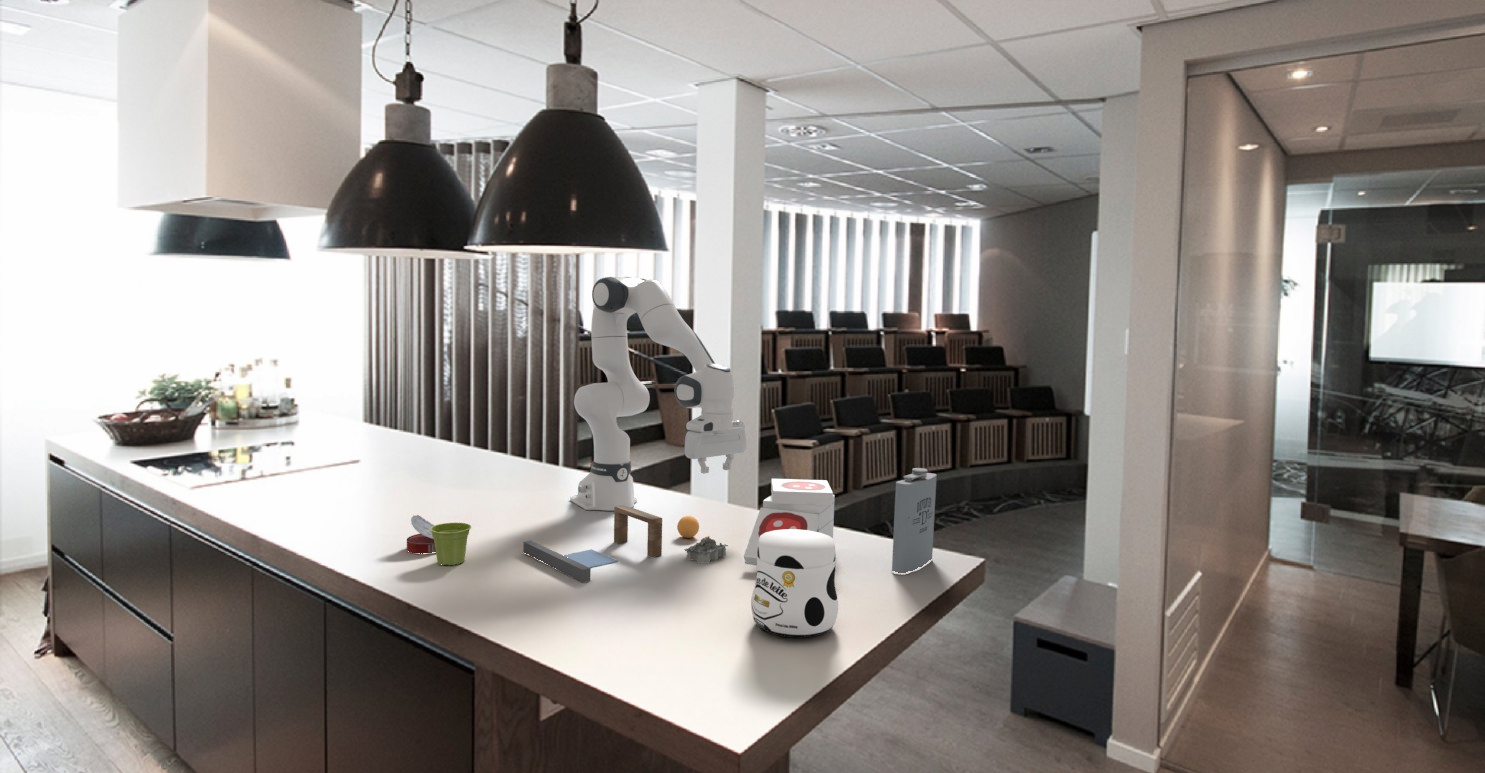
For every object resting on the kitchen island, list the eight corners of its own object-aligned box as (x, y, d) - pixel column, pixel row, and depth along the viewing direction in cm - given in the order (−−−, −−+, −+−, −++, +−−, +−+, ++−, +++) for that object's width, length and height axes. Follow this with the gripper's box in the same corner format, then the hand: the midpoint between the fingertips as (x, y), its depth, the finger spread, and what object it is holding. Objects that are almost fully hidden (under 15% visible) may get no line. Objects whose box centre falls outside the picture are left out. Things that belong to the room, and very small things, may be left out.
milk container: (737, 635, 158) (740, 545, 156) (767, 606, 174) (769, 523, 172) (824, 651, 152) (828, 557, 150) (846, 619, 168) (850, 534, 166)
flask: (906, 577, 196) (912, 474, 193) (889, 572, 199) (894, 471, 196) (937, 560, 210) (942, 464, 207) (920, 556, 212) (925, 462, 210)
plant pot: (422, 561, 197) (422, 526, 196) (459, 553, 203) (459, 519, 203) (441, 571, 190) (441, 534, 189) (478, 562, 197) (478, 527, 196)
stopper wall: (523, 553, 205) (523, 541, 205) (530, 551, 207) (530, 540, 207) (582, 582, 185) (582, 569, 185) (590, 580, 186) (590, 568, 186)
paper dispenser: (735, 571, 197) (738, 497, 195) (775, 539, 225) (777, 474, 223) (812, 582, 190) (815, 506, 188) (843, 548, 218) (846, 482, 216)
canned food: (427, 560, 212) (440, 523, 216) (450, 564, 206) (463, 526, 210) (389, 549, 204) (404, 511, 207) (413, 553, 198) (427, 513, 202)
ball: (672, 536, 224) (673, 515, 223) (689, 533, 228) (690, 512, 227) (686, 541, 220) (686, 520, 219) (703, 538, 224) (703, 516, 223)
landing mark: (550, 558, 202) (550, 557, 202) (591, 549, 210) (591, 549, 210) (575, 571, 193) (575, 570, 193) (618, 561, 201) (618, 560, 201)
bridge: (652, 557, 205) (652, 519, 204) (613, 542, 217) (614, 506, 216) (661, 555, 207) (662, 517, 206) (623, 540, 219) (623, 504, 219)
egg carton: (709, 550, 214) (709, 535, 213) (731, 556, 209) (731, 540, 209) (681, 559, 206) (681, 543, 205) (703, 565, 201) (703, 549, 201)
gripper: (736, 418, 237) (735, 465, 238) (681, 423, 223) (680, 473, 224) (751, 421, 232) (750, 468, 233) (696, 426, 218) (695, 477, 219)
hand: (715, 471), depth 229 cm, fingers open, 7 cm apart
